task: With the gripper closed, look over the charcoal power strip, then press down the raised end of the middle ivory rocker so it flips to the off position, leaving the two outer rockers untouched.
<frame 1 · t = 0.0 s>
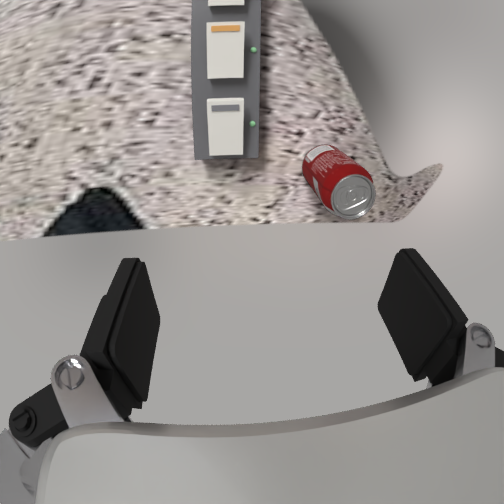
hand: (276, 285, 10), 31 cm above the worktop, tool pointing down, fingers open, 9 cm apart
rocker 2: (225, 49, 25), point 6 cm above the worktop, hinge at 14.0°
power strip: (226, 53, 29), on the worktop
rocker 3: (225, 127, 30), point 6 cm above the worktop, hinge at 14.0°
soda can: (322, 164, 39), on the worktop
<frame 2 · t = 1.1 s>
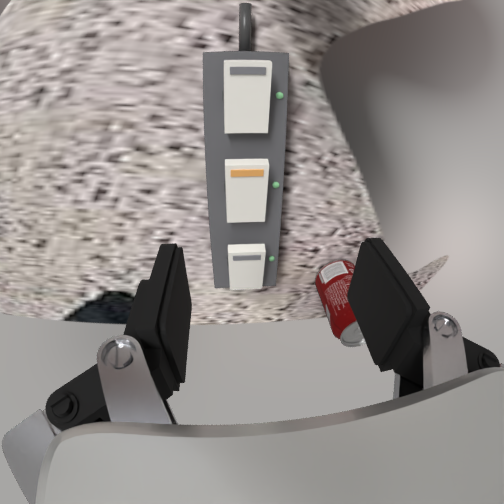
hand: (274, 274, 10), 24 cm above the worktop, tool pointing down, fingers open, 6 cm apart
rocker 2: (246, 192, 27), point 6 cm above the worktop, hinge at 14.0°
power strip: (243, 173, 32), on the worktop
rocker 3: (246, 268, 33), point 6 cm above the worktop, hinge at 14.0°
soda can: (334, 273, 42), on the worktop
rocker 1: (246, 96, 22), point 6 cm above the worktop, hinge at 14.0°
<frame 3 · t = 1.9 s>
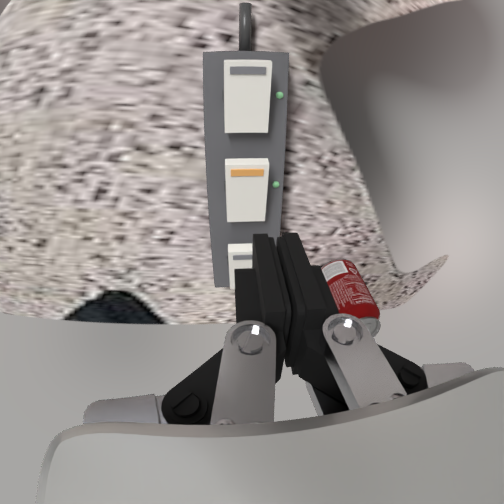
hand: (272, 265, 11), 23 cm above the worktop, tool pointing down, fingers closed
rocker 2: (246, 192, 28), point 6 cm above the worktop, hinge at 14.0°
power strip: (243, 172, 32), on the worktop
rocker 3: (246, 268, 33), point 6 cm above the worktop, hinge at 14.0°
soda can: (334, 273, 42), on the worktop
rocker 1: (246, 96, 22), point 6 cm above the worktop, hinge at 14.0°
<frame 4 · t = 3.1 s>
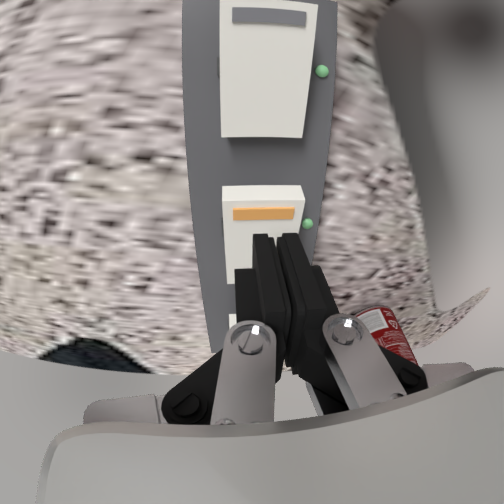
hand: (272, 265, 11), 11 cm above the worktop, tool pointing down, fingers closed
rocker 2: (259, 241, 16), point 6 cm above the worktop, hinge at 14.0°
power strip: (252, 196, 21), on the worktop
rocker 3: (255, 339, 22), point 6 cm above the worktop, hinge at 14.0°
soda can: (365, 319, 31), on the worktop
rocker 1: (264, 68, 11), point 6 cm above the worktop, hinge at 14.0°
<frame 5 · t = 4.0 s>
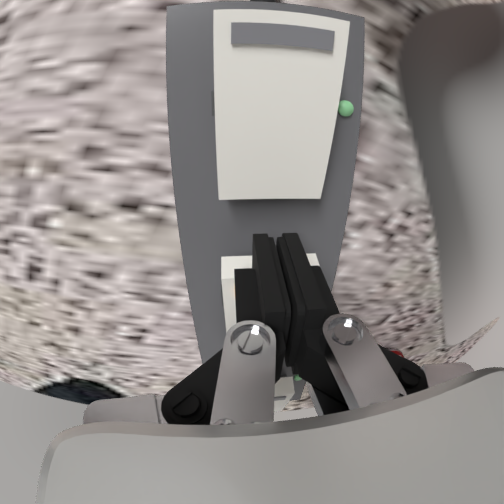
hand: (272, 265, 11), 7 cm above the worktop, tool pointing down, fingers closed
rocker 2: (266, 314, 14), point 6 cm above the worktop, hinge at 10.7°, touching gripper
power strip: (255, 249, 18), on the worktop
rocker 3: (260, 399, 19), point 6 cm above the worktop, hinge at 14.0°
rocker 1: (275, 108, 9), point 6 cm above the worktop, hinge at 14.0°
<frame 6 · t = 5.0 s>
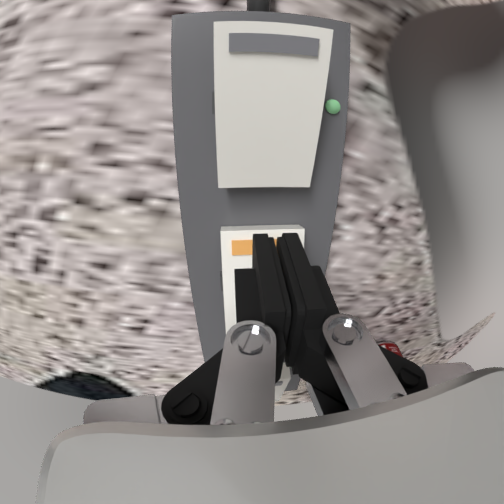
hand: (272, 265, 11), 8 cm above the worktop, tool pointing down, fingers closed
rocker 2: (262, 293, 15), point 6 cm above the worktop, hinge at -17.3°
power strip: (253, 240, 20), on the worktop
rocker 3: (257, 387, 20), point 6 cm above the worktop, hinge at 14.0°
rocker 1: (268, 107, 10), point 6 cm above the worktop, hinge at 15.5°
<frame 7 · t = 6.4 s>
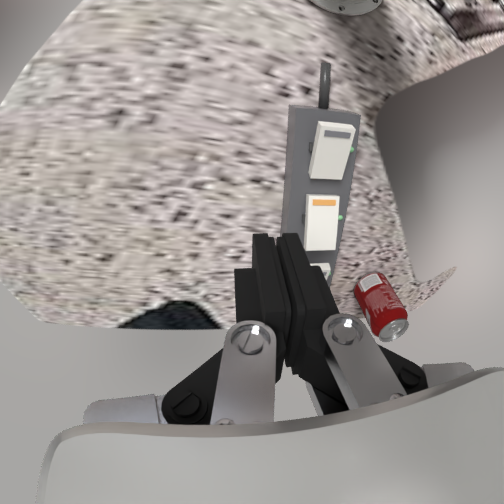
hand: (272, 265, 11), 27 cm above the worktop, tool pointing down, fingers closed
rocker 2: (321, 222, 35), point 6 cm above the worktop, hinge at -14.7°
power strip: (310, 204, 39), on the worktop
rocker 3: (311, 282, 40), point 6 cm above the worktop, hinge at 14.0°
soda can: (368, 283, 50), on the worktop
rocker 1: (331, 152, 29), point 6 cm above the worktop, hinge at 16.9°
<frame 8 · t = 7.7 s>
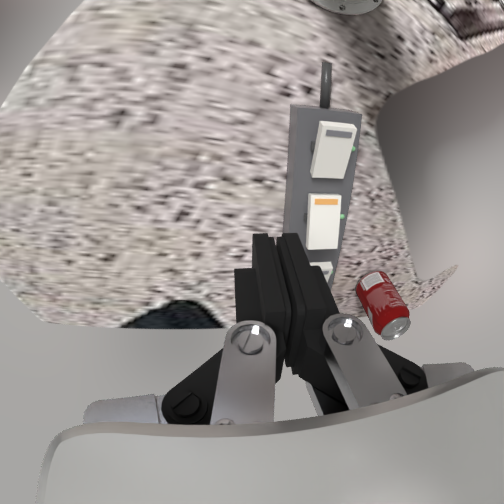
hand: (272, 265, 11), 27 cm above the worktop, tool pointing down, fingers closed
rocker 2: (323, 221, 35), point 6 cm above the worktop, hinge at -14.0°
power strip: (311, 203, 40), on the worktop
rocker 3: (313, 281, 40), point 6 cm above the worktop, hinge at 14.0°
soda can: (370, 281, 50), on the worktop
rocker 1: (332, 151, 30), point 6 cm above the worktop, hinge at 17.3°
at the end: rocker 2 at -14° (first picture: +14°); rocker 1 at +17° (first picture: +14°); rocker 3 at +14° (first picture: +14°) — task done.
